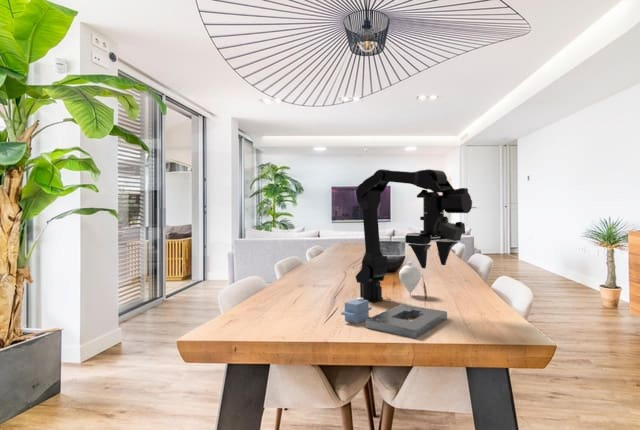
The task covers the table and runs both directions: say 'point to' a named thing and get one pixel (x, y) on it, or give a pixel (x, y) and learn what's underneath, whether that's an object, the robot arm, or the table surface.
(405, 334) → the chassis plate
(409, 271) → the spinning top
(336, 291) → the table surface
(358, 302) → the servo
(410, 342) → the table surface
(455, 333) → the table surface
